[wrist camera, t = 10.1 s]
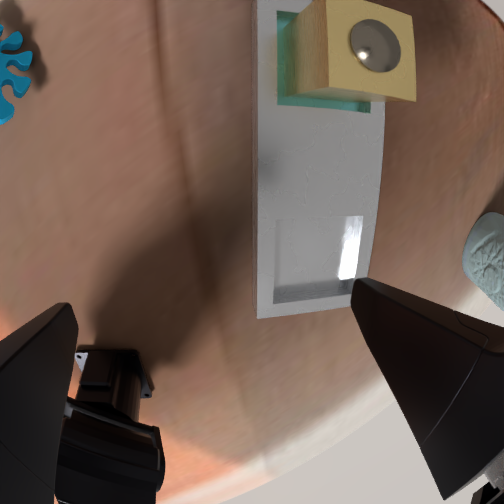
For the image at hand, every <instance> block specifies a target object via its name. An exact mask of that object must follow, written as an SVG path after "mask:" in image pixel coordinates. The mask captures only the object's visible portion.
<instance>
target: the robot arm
mask: <svg viewBox="0 0 504 504" xmlns="http://www.w3.org/2000/svg"><path fill="white" fill-rule="evenodd" d="M350 305H351V308H352V311H353V313H354V315H355V318H356V320H357V322H358V325H359V327H360V330H361V332H362V334H363V337H364V339H365V341H366V343H367V345H368V347H369V349H370V351H371V353H372V355H373V357H374V358H375V360H376V362H377V364H378V366H379V368H380V370H381V372H382V373H383V375H384V377H385V379H386V381H387V383H388V385H389V387H390V389H391V391H392V393H393V394H394V396H395V398H396V400H397V402H398V404H399V406H400V408H401V410H402V412H403V414H404V416H405V418H406V420H407V422H408V424H409V426H410V428H411V430H412V432H413V435H414V437H415V439H416V441H417V443H418V445H419V447H420V449H421V452H422V454H423V456H424V458H425V460H426V462H427V465H428V467H429V469H430V471H431V473H432V476H433V478H434V480H435V482H436V485H437V487H438V489H439V492H440V494H441V496H442V498H443V500H446V499H447V498H449V497H451V496H452V495H454V494H455V493H457V492H458V491H460V490H462V489H463V488H464V487H466V486H467V485H469V484H470V483H472V482H473V481H474V480H476V479H477V478H478V477H480V476H481V475H482V474H485V475H486V477H487V479H488V480H489V482H488V483H487V484H485V485H484V486H483V487H482V488H480V489H479V490H478V491H477V492H475V493H474V494H473V497H472V501H471V504H504V327H501V326H498V325H495V324H491V323H488V322H485V321H482V320H479V319H477V318H474V317H471V316H468V315H466V314H463V313H460V312H458V311H453V310H452V309H450V308H447V307H445V306H442V305H439V304H437V303H434V302H432V301H429V300H426V299H424V298H421V297H418V296H416V295H413V294H411V293H408V292H405V291H403V290H400V289H397V288H395V287H392V286H389V285H387V284H384V283H381V282H379V281H376V280H373V279H370V278H368V277H363V278H357V279H355V281H354V283H353V288H352V294H351V299H350ZM77 337H78V323H77V321H76V318H75V315H74V312H73V309H72V306H71V305H70V304H69V303H67V302H65V303H57V304H55V305H54V306H52V307H51V308H49V309H47V310H46V311H44V312H43V313H41V314H40V315H38V316H37V317H35V318H34V319H32V320H31V321H29V322H28V323H26V324H25V325H23V326H22V327H20V328H19V329H17V330H16V331H14V332H13V333H11V334H10V335H8V336H7V337H6V338H4V339H3V340H1V341H0V504H54V494H55V496H56V499H57V501H58V503H59V504H156V492H158V491H159V490H160V488H161V486H162V484H163V480H164V475H165V457H164V452H163V447H162V441H161V436H160V430H159V427H156V426H149V425H146V424H142V423H139V422H138V420H139V409H140V398H151V397H152V391H151V388H150V385H149V383H148V380H147V377H146V374H145V371H144V368H143V364H142V361H141V358H140V355H139V353H138V351H136V350H77V351H76V344H77ZM75 351H76V352H75ZM79 355H80V356H79ZM133 355H135V356H133ZM74 358H75V359H76V361H77V363H78V365H79V367H80V370H81V372H82V374H81V377H80V380H79V387H78V390H77V394H76V397H75V399H73V398H71V397H68V390H69V385H70V381H71V376H72V372H73V365H74Z"/></svg>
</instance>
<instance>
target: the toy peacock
mask: <svg viewBox="0 0 504 504" xmlns="http://www.w3.org/2000/svg"><path fill="white" fill-rule="evenodd" d="M3 28H4V27H3V26H2V25H1V24H0V36H1V35H2V32H3ZM22 41H23V38H22V35H21V33H20V32H19V31H17V32H14V33H12V34H11V35H10V36H9V37H8V38H7V39H5V40H3V41H1V42H0V125H1V124H4V123H5V122H7V121H8V120H10V119H11V118H12V117H13V115H14V106H13V105H12V104H11V103H9V102H8V101H6V99H5V98H4V97H3V94H2V90H1V88H2V87H3V86H4V85H11V86H12V88H13V93H14V95H15V96H16V97H17V98H22V97H23V96H24V94H25V93H26V92H27V90H28V88H29V86H30V83H31V79H30V78H28V77H21V76H16V75H14V74H12V73H11V72H10V71H9V70H8V69H7V67H8V66H10V65H14V66H16V67H17V68H18V69H19V70H20V71H26V70H28V69H29V66H30V64H31V61H32V52H31V51H25V52H23V53H20V54H16V55H8V54H3V53H1V51H3V50H17V49H19V48H20V47H21V44H22Z"/></svg>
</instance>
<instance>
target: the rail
mask: <svg viewBox="0 0 504 504" xmlns="http://www.w3.org/2000/svg"><path fill="white" fill-rule="evenodd" d="M311 2H313V1H312V0H254V1H253V3H252V305H253V308H254V311H255V314H256V317H257V319H260V318H269V317H277V316H285V315H293V314H300V313H308V312H315V311H322V310H328V309H335V308H341V307H348V306H351V305H350V299H351V294H352V288H353V283H354V281H355V279H357V278H363V277H367V274H368V269H369V263H370V257H371V251H372V245H373V238H374V232H375V225H376V217H377V209H378V201H379V192H380V182H381V171H382V158H383V143H384V122H385V102H357V103H351V102H343V101H334V100H323V99H312V98H297V97H284V38H283V28H284V27H285V26H286V25H287V24H288V23H289V22H290V21H291V20H293V19H294V18H295V17H296V16H297V15H298V14H299V13H300V12H301V11H302V10H303V9H305V8H306V7H307V6H308V5H309V4H310V3H311Z"/></svg>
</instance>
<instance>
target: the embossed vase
mask: <svg viewBox="0 0 504 504" xmlns="http://www.w3.org/2000/svg"><path fill="white" fill-rule="evenodd" d="M462 266H463V270H464V273H465V274H466V275H467V277H468V278H469V279H470V280H471V281H473V282H474V283H475V284H476V285H477V286H478V287H479V288H480V289H481V290H482V291H483V292H484V293H486V295H487V296H488V297H489V298H490V299H491V300H492V301H493V302H494V303H495V304H496V305H497V306H498V307H499V308H500V309H501V310H502V311H504V215H501V214H499V213H496V212H488V213H486V214H484V215H483V216H482V217H480V218H479V219H478V221H477V222H476V223H475V224H474V226H473V228H472V229H471V231H470V233H469V235H468V238H467V240H466V243H465V246H464V251H463V257H462Z"/></svg>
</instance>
